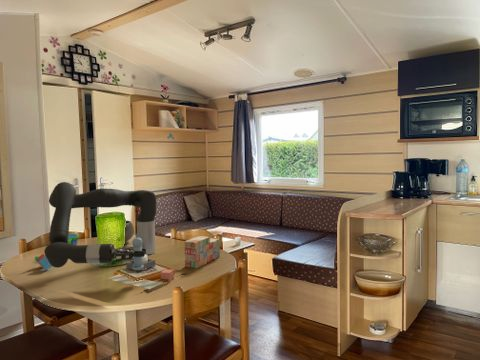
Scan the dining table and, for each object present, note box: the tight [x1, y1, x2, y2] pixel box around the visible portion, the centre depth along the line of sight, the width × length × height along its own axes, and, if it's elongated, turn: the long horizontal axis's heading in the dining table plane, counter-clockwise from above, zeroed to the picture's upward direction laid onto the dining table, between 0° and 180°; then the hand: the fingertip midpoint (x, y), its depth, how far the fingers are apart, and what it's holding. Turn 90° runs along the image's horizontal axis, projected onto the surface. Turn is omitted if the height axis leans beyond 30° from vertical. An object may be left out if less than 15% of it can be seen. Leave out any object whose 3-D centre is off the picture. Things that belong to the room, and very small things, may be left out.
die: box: [160, 268, 175, 283], centre depth 155 cm, size 4×4×4 cm
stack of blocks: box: [184, 235, 221, 269], centre depth 182 cm, size 21×6×12 cm, turn 152°
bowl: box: [125, 220, 135, 243], centre depth 221 cm, size 18×18×13 cm
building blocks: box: [34, 253, 53, 271], centre depth 174 cm, size 8×8×12 cm
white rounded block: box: [142, 254, 149, 264], centre depth 169 cm, size 6×6×5 cm
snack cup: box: [68, 233, 80, 245], centre depth 195 cm, size 16×10×10 cm
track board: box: [107, 273, 164, 293], centre depth 151 cm, size 24×8×1 cm, turn 60°
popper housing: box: [125, 258, 156, 270], centre depth 170 cm, size 9×9×4 cm
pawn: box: [131, 237, 144, 271], centre depth 149 cm, size 4×4×12 cm
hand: (145, 252), depth 149 cm, fingers closed on pawn, 3 cm apart
